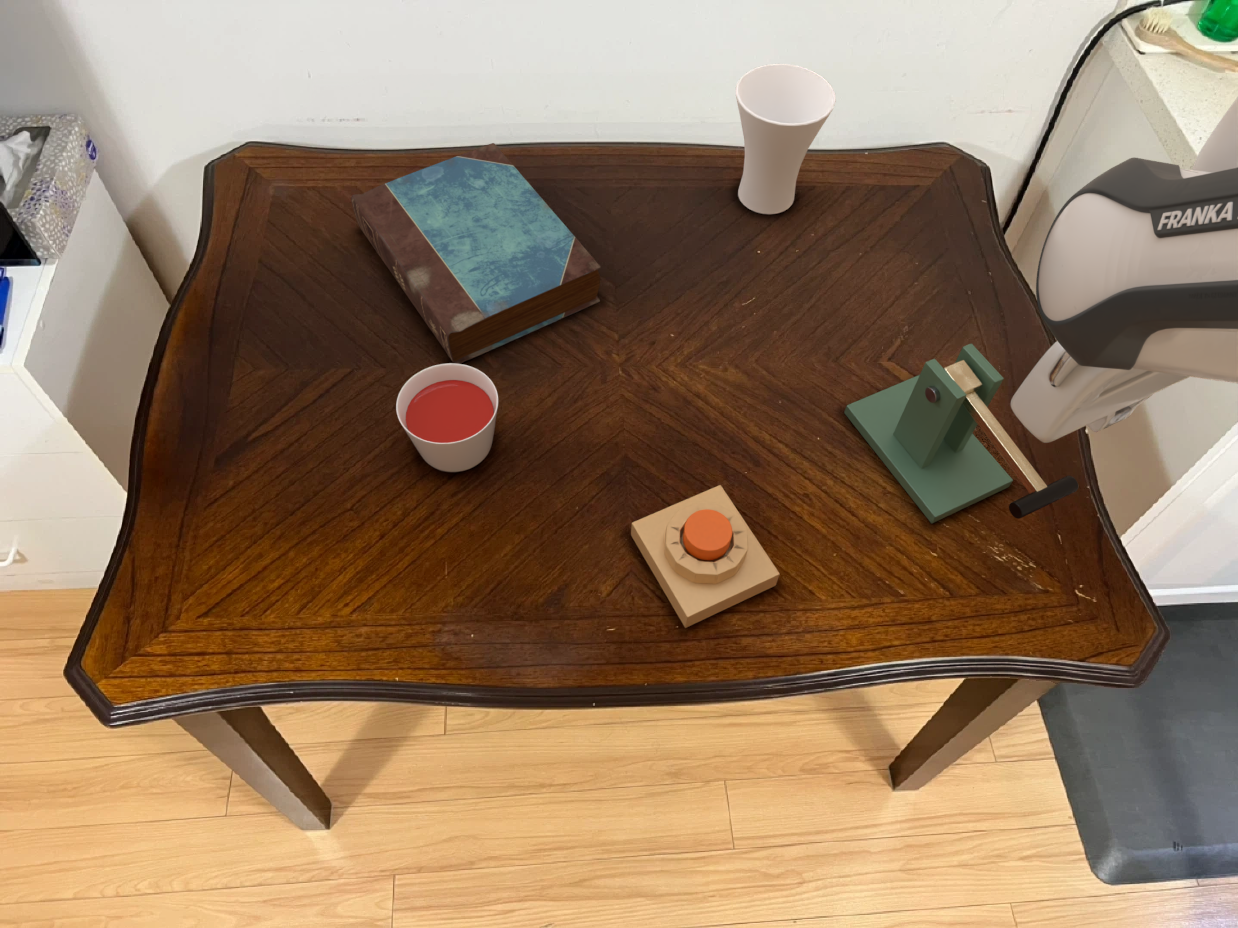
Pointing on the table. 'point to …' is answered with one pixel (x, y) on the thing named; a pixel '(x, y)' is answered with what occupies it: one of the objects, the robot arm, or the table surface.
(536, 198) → the book
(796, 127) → the cup
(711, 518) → the button
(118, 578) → the table surface
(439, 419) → the white round tub
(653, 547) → the call button
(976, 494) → the green lever stand
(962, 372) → the lever handle
